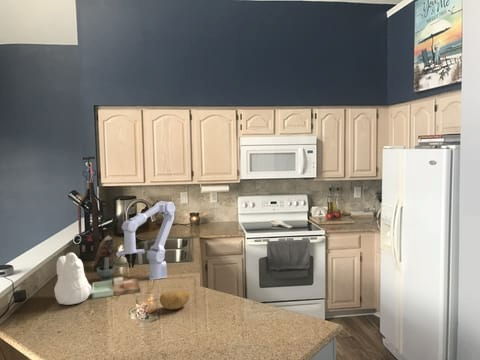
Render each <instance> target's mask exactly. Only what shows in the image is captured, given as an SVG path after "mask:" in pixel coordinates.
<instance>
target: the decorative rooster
mask: <svg viewBox="0 0 480 360" xmlns="http://www.w3.org/2000/svg"><path fill="white" fill-rule="evenodd" d="M84 269H85V268H84V264H83V261H82V259H80V258H79V257H78V256H77V255H76V253H74V252H72V251H71V252H68V253H66V255H61V256H59V257H58V259H57V261H56V275H57V280H56V283H55V286H54V289H53V290H54V295H55V296H54V297H55V299H56V301H57V303H58V304H60V305H66V306H67V305H68V306H69V305H70V306H71V305H75V304H80V303H81V302H84V301H86V300H87V299H88V298H89V297H90V295H92V285H91V284H90V283H89V280H88V279H87V277H86V274H85V270H84Z"/></svg>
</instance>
